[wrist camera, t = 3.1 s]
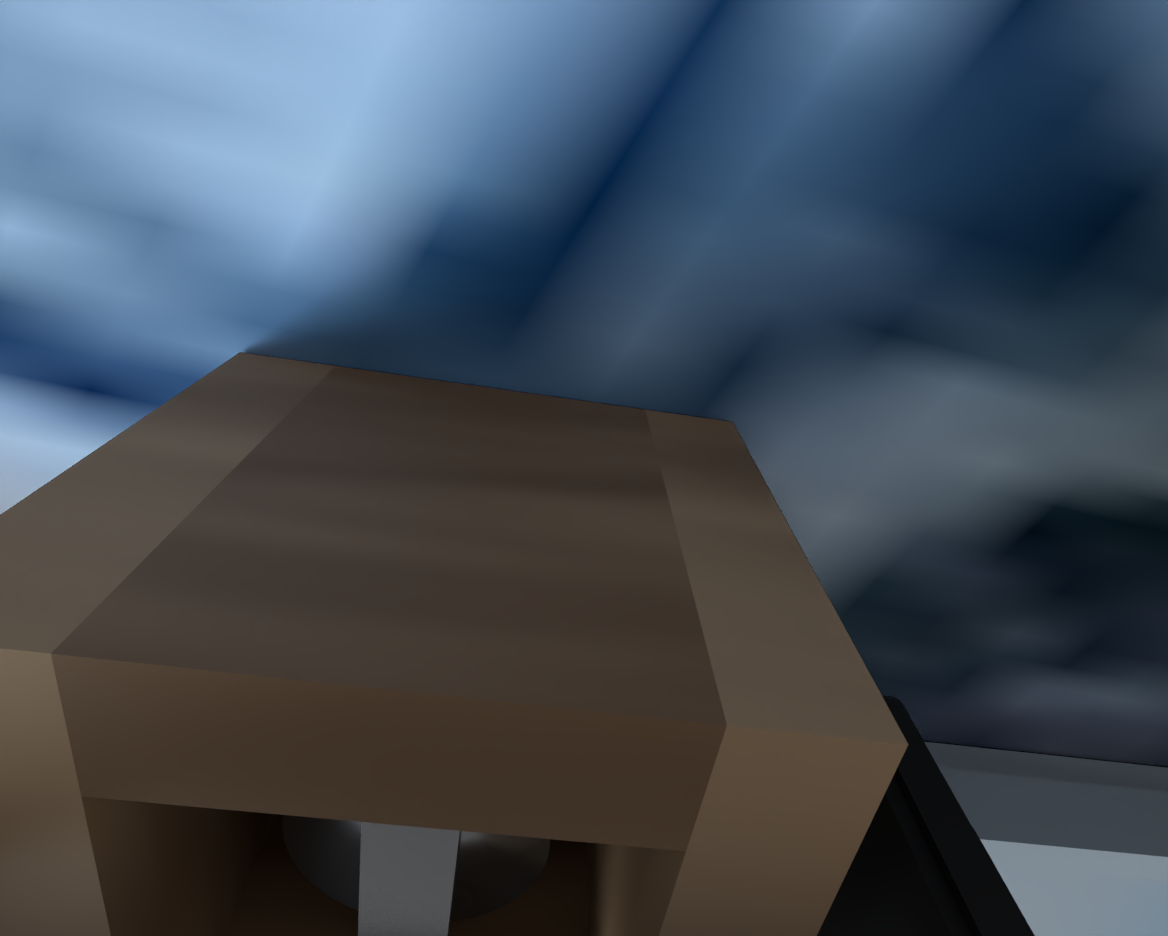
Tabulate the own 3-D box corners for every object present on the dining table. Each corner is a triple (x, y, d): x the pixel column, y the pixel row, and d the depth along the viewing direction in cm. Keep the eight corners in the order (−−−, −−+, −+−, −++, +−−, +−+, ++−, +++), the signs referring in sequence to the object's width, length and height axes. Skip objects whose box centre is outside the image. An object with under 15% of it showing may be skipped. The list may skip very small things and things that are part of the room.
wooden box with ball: (239, 352, 10) (-172, 631, 4) (732, 422, 10) (908, 744, 5) (263, 780, 13) (54, 1225, 8) (628, 815, 14) (664, 1252, 9)
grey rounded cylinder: (388, 504, 11) (253, 781, 6) (569, 527, 11) (567, 811, 6) (382, 654, 12) (265, 978, 8) (544, 672, 12) (528, 997, 8)
